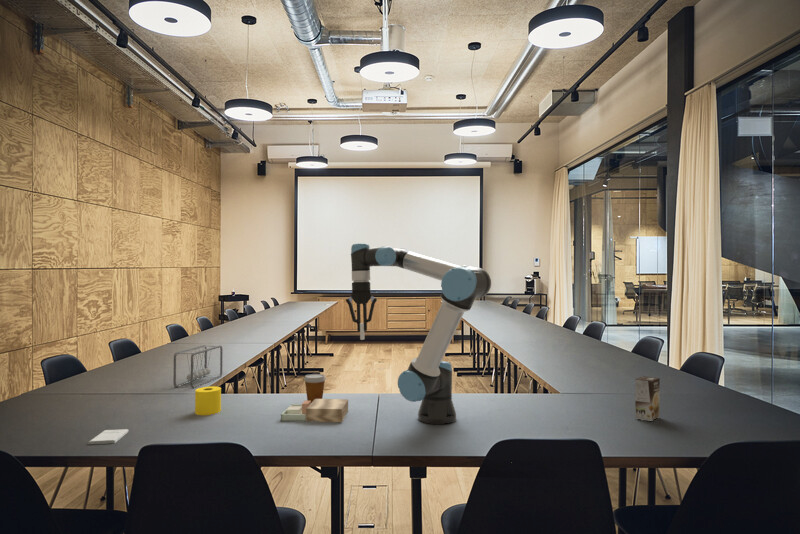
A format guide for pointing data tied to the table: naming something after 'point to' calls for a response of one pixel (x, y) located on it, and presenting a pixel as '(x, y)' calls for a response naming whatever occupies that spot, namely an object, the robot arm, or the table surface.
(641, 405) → the coffee box
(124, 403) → the table surface
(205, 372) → the newton's cradle
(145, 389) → the table surface
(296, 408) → the cream tile
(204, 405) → the yellow toilet paper roll
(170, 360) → the table surface
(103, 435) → the external hard drive
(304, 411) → the terracotta tile
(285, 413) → the tray
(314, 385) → the disposable coffee cup
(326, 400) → the tan wooden flat block
